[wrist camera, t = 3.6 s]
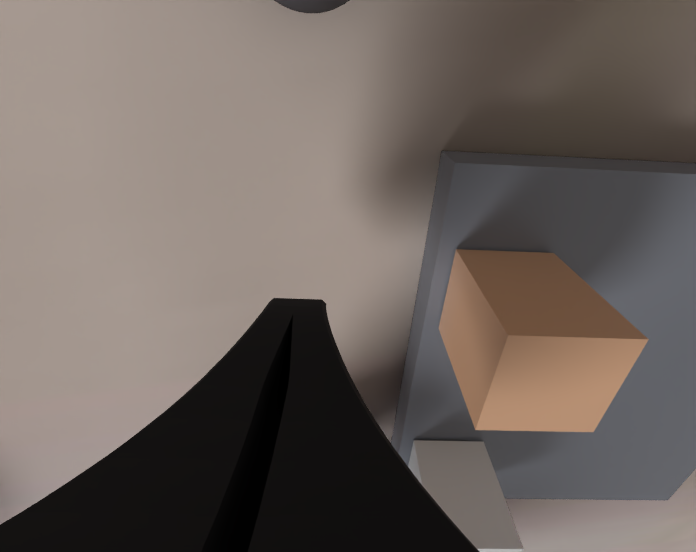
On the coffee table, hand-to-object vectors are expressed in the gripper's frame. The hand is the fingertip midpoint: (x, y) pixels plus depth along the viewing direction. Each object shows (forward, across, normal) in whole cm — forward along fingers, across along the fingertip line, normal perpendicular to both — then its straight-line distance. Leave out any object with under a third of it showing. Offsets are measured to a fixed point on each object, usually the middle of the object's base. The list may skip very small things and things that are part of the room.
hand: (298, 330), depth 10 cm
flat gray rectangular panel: (+4, -11, +4) cm, 12 cm away
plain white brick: (+2, -6, +9) cm, 11 cm away
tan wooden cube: (+2, -6, 0) cm, 6 cm away
